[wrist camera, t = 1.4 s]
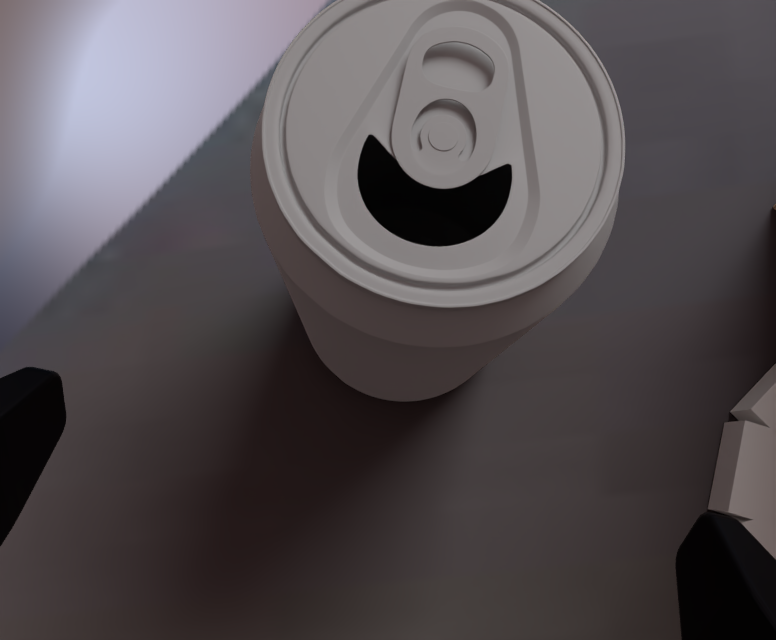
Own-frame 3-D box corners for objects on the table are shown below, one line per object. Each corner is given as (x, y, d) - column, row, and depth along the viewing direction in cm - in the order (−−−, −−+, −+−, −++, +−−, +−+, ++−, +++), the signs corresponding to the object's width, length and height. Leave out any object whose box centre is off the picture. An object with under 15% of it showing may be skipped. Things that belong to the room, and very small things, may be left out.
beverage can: (283, 380, 21) (183, 282, 10) (329, 195, 23) (291, -91, 11) (479, 423, 21) (622, 377, 9) (513, 235, 23) (676, -10, 11)
